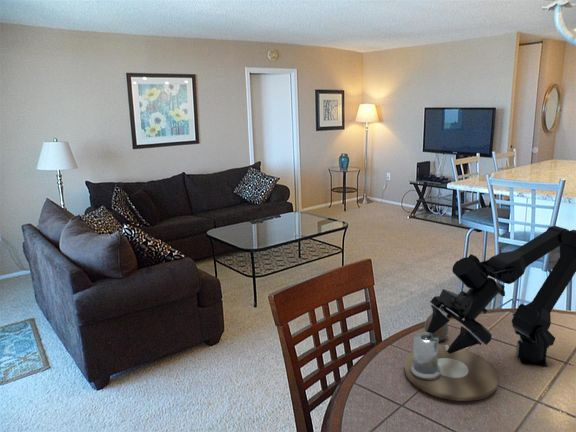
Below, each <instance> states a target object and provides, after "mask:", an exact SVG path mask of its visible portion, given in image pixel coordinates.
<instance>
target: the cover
mask: <svg viewBox="0 0 576 432" xmlns="http://www.w3.org/2000/svg"><path fill="white" fill-rule="evenodd" d="M439 342H440V341H439V338H438V336H437V335H435V334H433V333H430V332H425V331H419V332H416V333H414V335H413V351H414V362H413V363H412V365H411V373H412V375H413V376H414V377H416V378H417V379H420V380H423V381H434V380H436V379H438V378H439V377H440V366H439V365H438V346H439Z"/></svg>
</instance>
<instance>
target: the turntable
mask: <svg viewBox="0 0 576 432" xmlns="http://www.w3.org/2000/svg"><path fill="white" fill-rule="evenodd" d="M449 347H450V345H447V344H446V345H445V344H444V345H438V365H439V366H440V377H439V378H438V379H436V380H434V381H423V380H420V379H417V378H416V377H414V376H413V375H412V373H411V365H412V363H413V362H414V350H412V351H411V352H409V353H408V354H407V355H406V357H405V360H404V372H405V375H406V377H407V379H408V380H409V381H410V383H412V384H413V385H414V386H415V387H416V388H418V389H419V390H421V391H423V392H425V393H427V394H429V395H432V396H434V397H437V398H440V399H446V400H450V401H457V402H459V401H460V402H469V401H471V402H473V401H478V400H482V399H485V398H487V397H490V396H491V395H493V393H495V391H496V390H497V388H498V385H499V374H498V371H497V369H496V367H495V366H493V364H492V363H491V362H489V360H487V359H486V358H484V357H483V356H481V355H479V354H477V353H475V352H473V351H471V350H467V349H465V348H464V349H461V350H459V351H456V352H453V353H451V354H449V353H448V352H447V350H448V348H449Z"/></svg>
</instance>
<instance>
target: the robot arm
mask: <svg viewBox="0 0 576 432" xmlns="http://www.w3.org/2000/svg"><path fill="white" fill-rule="evenodd" d="M557 248H559V249H558V250H559V257H558V259H557V261H556V263H555V264H554V266H553V268H552V269H551V270H550V273H549V274H548V275H547V277H546V278H545V280H544V282H543V283H542V285H541V287H539V290H538V291H537V293H536V294H535V296H534V297H533V299H532V300H531V302H529V303H527V304H524V303H520V304H519V305H518V307H517V309H516V310H515V312H514V313H513V314H512V316H513V317H512V319H511V325H512V328H513V329H514V333H515V334H516V335H518V336H519V340H517V341H516V350H515V353H516V356H517V358H518V360H519V362H520V364H521V365H529V366H538V367H545V368H546V367H548V362H547V354H548V349H549V348H550V346H551V347H552V346H554V343H555V341H556V337H555V336H554V334H552V333H551V332H550V331H549V329H550V327H551V325H552V322H551V319H552V318H551V317H552V316H551V313H552V310H553V309H554V307H555V306H556V305H557V302H558V301H559V300H560V298H561V296H562V295H563V293H564V292H565V290H566V288H567V287H568V285H569V283H570V282H571V281H572V279H573V277H574V275H575V274H576V229H571V230H569V229H568V228H565V227H562V226H557V225H552V226H549V227H548V228H547V229H546V231H544V232H543V233H540V234H539V235H537V236H535V237H534V238H532V239H531V240H529V241H527V242H526V243H524V244H523V245H521V246H519V247H518V248H515V250H511V251H504V252H501V253H498V254H496V255H493V256H491V257H490V258H489V259H486V260H483V261H481V260H480V259H479V258H478V257H477V256H476V255H474V254H471V253H470V254H469V255H468V257H467V256H466V257H462V258H461V259H459V260H456V261H455V262H454V264H453V266H452V269H451V271H452V274H453V275H454V276H456V278H458V280H459V281H461V283H462V284H463V285H464V286H465V287H466V288H468V290H467V291H463V290H462V291H460V292H459V293H458V294H457V293H455V292H453V291H450V290H447V289H445V288H443V289H442V290H441V292H440V294H439V295H436V296H433V298H431V300H430V301H429V302H430V304H431V305H430V307H431V308H432V312H433V316H432V320H431V322H430V325H429V327H428V330H427V332H430V333H433V334H434V333H435V332H436V331H437V330H439V329H440V328H441V327H443V326H444V325H445V324H446V323H448V324H449V322H450V319H451V318H452V319H454V320H455V321H457V322H458V323H459V324H461V326H460V330H459V334H458V335H457V337H456V338H455V339H454V340H453V342H452V343H451V344H450V345H449V346H450V347H449V348H448V350H447V352H448V353H449V354H451V353H453V352H456V351H459V350H461V349H464V350H465V349H467V348H469V347H472V346H476V345H479V346H481V345H482V344H484V345H485V346H487V345H488V344H489V343H490V342H491V341H492V338H493V337H492V336H493V335H492V333H491V332H490V331H489V330H488V329H487V328H486V327H485V326H484V325H483V324H481V322H478V321H477V320H476V319H477V318H478V316H480V315H481V313H482V314H484V315H485V314H486V313H487V312H488V309H486V307H487V306H488V305H489V304H490V303H491V302H492V300H493V299H494V298H495V297H496V296H497V295H500V296H501V297H505V296H506V291H505V285H504V284H507V285H511V284H513V283H515V282H516V281H518V279H520V278H521V277H523V275H524V274H525V272H526V269H527V267H529V266H530V265H531V264H533V263H535V262H536V261H538V260H540V259H541V258H543V257H544V256H546V255H547V254H549V253H551V252H552V251H555V250H556V249H557ZM496 280H497V281H499V282H501V283H499V282H497V281H496ZM502 283H504V284H502Z"/></svg>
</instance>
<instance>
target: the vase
mask: <svg viewBox="0 0 576 432" xmlns="http://www.w3.org/2000/svg"><path fill="white" fill-rule="evenodd" d="M432 316H433V311H432V312H431V314H430V315H429V316H428V317H427V318H426V320H425V322H424V332H427V330H428V327H429V325H430V322H431V320H432ZM448 333H449V322H448V323H446V324H445V325H444V326H443V327H441V328H440V329H439V330H437V331H436V332H435V333H434V334H435V335H437V336H438V338H439V342H442V341H443V340H445V339H446V338H447V337H448Z"/></svg>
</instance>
